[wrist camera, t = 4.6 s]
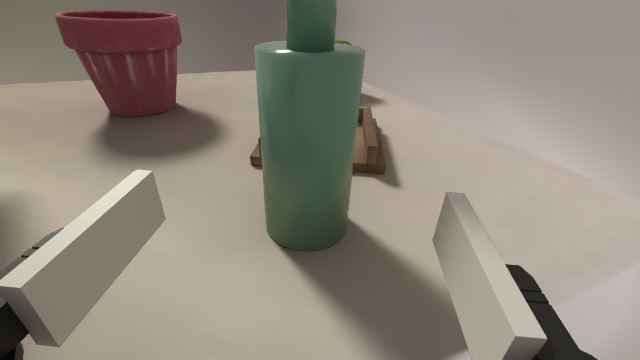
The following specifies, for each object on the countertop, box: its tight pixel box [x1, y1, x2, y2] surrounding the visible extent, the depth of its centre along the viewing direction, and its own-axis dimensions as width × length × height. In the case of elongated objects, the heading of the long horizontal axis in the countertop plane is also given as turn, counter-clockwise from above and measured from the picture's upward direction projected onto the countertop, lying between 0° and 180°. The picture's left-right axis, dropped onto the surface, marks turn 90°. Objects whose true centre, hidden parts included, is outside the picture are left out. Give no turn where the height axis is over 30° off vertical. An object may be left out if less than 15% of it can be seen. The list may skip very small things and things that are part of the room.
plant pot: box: [55, 10, 182, 117], centre depth 45 cm, size 14×14×13 cm
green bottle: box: [255, 0, 365, 251], centre depth 20 cm, size 6×6×18 cm
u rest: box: [250, 106, 385, 174], centre depth 38 cm, size 14×14×3 cm
